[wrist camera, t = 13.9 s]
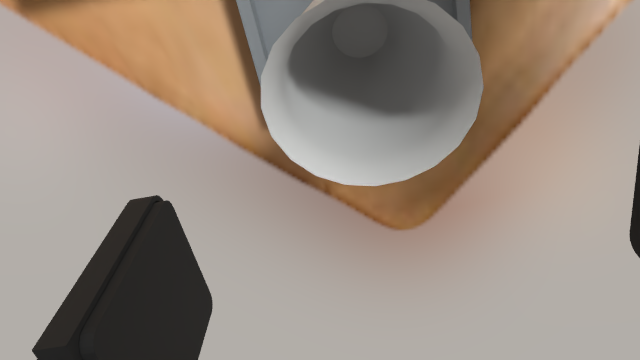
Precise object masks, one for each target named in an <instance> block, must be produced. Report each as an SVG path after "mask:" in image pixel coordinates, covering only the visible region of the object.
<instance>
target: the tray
mask: <svg viewBox="0 0 640 360" xmlns="http://www.w3.org/2000/svg"><path fill="white" fill-rule="evenodd" d="M312 1H313V0H236V2H237V5H238V9H239V12H240V16H241V19H242V23H243V27H244V30H245V34H246V37H247V41H248V44H249V48H250V51H251V55H252V58H253V62H254V65H255V69H256V72H257V76H258V79H259V83H260V86H261V75H262V72H263V70H264V67H265V65H266V62H267V59H268V57H269V54H270V51H271V49H272V46H273V44H274V43H275V42H276V41H277V40H278V39H279V37H280V36H281V35H282V34H283V33H284V31H285V30H286V29H287V28H288V27H289V26H290V24H291V23H292V22H293V21H294V20H295V19H296V18H297V17H299V16H300V15H301V14H302V13H303V12H304V11H305V10H306V8H307V7H308V6H309V5H310V4H311V3H312ZM427 1H430V2H433V3H436V4H437V5H438V6H439V7H441V8H442V9H443V10H444V11H445V12H447V13H448V14H449V15H450V16H451V17H453V18H454V19H455V20H456V21H458V22H459V23H460V24H461V25H462V26H463V27H464V29H465V31H466V32H467V34H468V36H469V38H470V39H471V41H472V29H471V14H470V0H427Z"/></svg>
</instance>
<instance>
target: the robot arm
mask: <svg viewBox="0 0 640 360" xmlns="http://www.w3.org/2000/svg"><path fill="white" fill-rule="evenodd" d="M630 241H631V244H632V247H633V249H634V251H635V253H636V254H637V255H638V256H639V258H640V147H639V155H638V165H637V173H636V183H635V191H634V199H633V208H632V217H631V226H630ZM211 313H212V297H211V294H210V291H209V289H208V286H207V284H206V282H205V280H204V277H203V275H202V273H201V270H200V268H199V266H198V263H197V261H196V259H195V256H194V254H193V252H192V249H191V247H190V245H189V242H188V240H187V238H186V235H185V233H184V231H183V228H182V226H181V224H180V221H179V219H178V217H177V214H176V212H175V210H174V208H173V206H172V204H171V203H170V202H169V201H163V199H162V198H161V197H160V196H157V195H156V196H151V197H145V198H139V199H133V200H130V201H129V202H128V203H127V205H126V206H125V208H124V210H123V211H122V213H121V214H120V216H119V217H118V219H117V220H116V222H115V223H114V225H113V227H112V228H111V230H110V231H109V233H108V234H107V236H106V237H105V239H104V240H103V242H102V243H101V245H100V247H99V248H98V250H97V251H96V253H95V254H94V256H93V257H92V259H91V260H90V262H89V263H88V265H87V266H86V268H85V269H84V271H83V273H82V274H81V276H80V277H79V279H78V280H77V282H76V283H75V285H74V286H73V288H72V289H71V291H70V292H69V294H68V296H67V297H66V299H65V300H64V302H63V303H62V305H61V306H60V308H59V309H58V311H57V313H56V314H55V316H54V317H53V319H52V320H51V322H50V323H49V325H48V326H47V328H46V329H45V331H44V332H43V334H42V336H41V337H40V339H39V340H38V342H37V343H36V345H35V346H34V348H33V349H32V352H33V353H34V354H35V356H36V357H37V358H38V359H37V360H198V357H199V354H200V351H201V347H202V344H203V340H204V337H205V333H206V330H207V326H208V323H209V320H210V316H211Z"/></svg>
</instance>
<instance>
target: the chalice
mask: <svg viewBox="0 0 640 360" xmlns="http://www.w3.org/2000/svg"><path fill="white" fill-rule="evenodd" d="M483 88H484V86H483V78H482V71H481V63H480V56H479V54H478V52H477V50H476V48H475V46H474V45H473V43H472V41H471V39H470V38H469V36H468V34H467V32H466V31H465V29H464V27H463V26H462V25H461V24H460V23H459V22H458V21H456V20H455V19H454V18H453V17H451V16H450V15H449V14H448V13H447V12H445V11H444V10H443V9H442V8H441V7H439V6H438V5H437V4H436V3H433V2H430V1H427V0H313V1H312V3H311V4H310V5H309V6H308V7H307V8H306V10H305V11H304V12H303V13H302V14H301V15H300V16H299V17H297V18H296V19H295V20H294V21H293V22H292V23H291V24H290V26H289V27H288V28H287V29H286V30H285V31H284V33H283V34H282V35H281V36H280V37H279V39H278V40H277V41H276V42H275V43H274V44H273V46H272V49H271V51H270V54H269V57H268V59H267V62H266V65H265V67H264V70H263V72H262V75H261V110H262V112H263V115H264V118H265V121H266V123H267V126H268V129H269V131H270V134H271V137H272V138H273V139H274V140H275V141H276V143H277V144H278V145H279V146H280V147H281V149H282V150H283V151H284V152H285V153H286V155H287V156H288V157H289V158H290V159H291V160H292V161H294V162H295V163H297V164H298V165H300V166H301V167H303V168H304V169H306V170H308V171H309V172H311V173H312V174H314V175H315V176H318V177H321V178H324V179H328V180H331V181H334V182H338V183H341V184H344V185H361V186H379V185H384V184H389V183H394V182H399V181H404V180H407V179H410V178H412V177H414V176H416V175H418V174H420V173H422V172H424V171H426V170H428V169H430V168H433V167H435V166H436V165H437V164H438V163H439V162H441V161H442V160H443V159H444V158H445V157H446V156H448V155H449V154H450V153H451V152H452V151H453V150H455V149H456V148H457V147H458V146H459V145H460V143H461V142H462V140H463V139H464V137H465V136H466V134H467V132H468V131H469V129H470V128H471V126H472V125H473V123H474V121H475V120H476V118H477V113H478V109H479V105H480V101H481V97H482V92H483Z"/></svg>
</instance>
